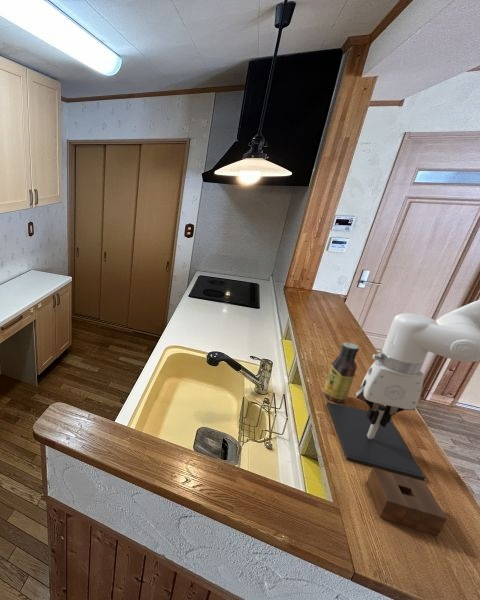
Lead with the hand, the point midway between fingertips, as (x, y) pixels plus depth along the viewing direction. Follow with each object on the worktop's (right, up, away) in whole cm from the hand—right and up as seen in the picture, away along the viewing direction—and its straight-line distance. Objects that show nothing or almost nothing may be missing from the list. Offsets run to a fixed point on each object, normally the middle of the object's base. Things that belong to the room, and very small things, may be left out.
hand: (376, 421), depth 86 cm
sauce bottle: (+5, 0, +20) cm, 21 cm away
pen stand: (-9, -13, -15) cm, 22 cm away
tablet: (+1, -6, +4) cm, 7 cm away
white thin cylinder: (0, -6, +2) cm, 6 cm away
